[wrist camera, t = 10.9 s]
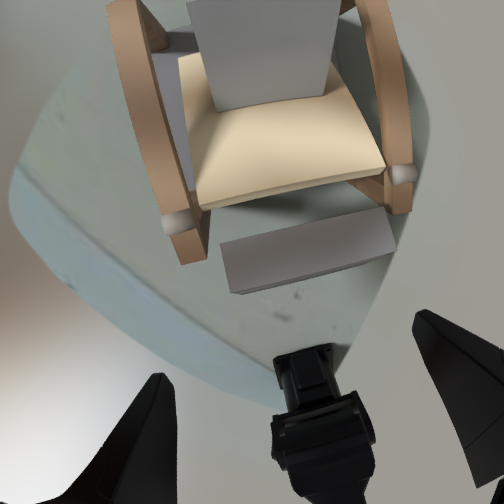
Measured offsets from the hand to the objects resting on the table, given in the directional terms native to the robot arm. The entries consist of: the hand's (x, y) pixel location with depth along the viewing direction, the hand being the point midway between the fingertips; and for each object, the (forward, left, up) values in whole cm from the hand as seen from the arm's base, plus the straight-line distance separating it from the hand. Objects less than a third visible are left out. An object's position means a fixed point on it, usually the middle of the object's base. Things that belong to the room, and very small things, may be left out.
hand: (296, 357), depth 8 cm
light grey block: (+9, -2, -9) cm, 13 cm away
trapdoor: (+3, -2, -11) cm, 11 cm away
